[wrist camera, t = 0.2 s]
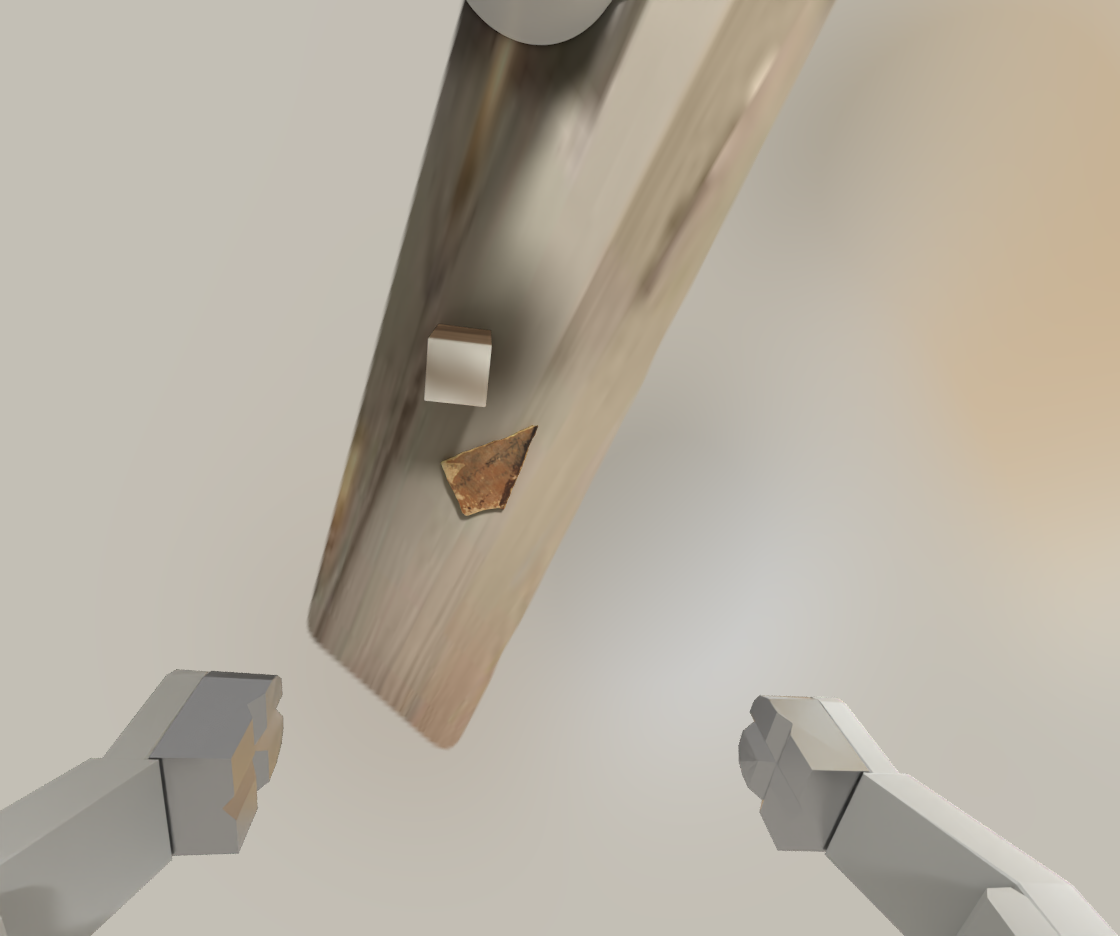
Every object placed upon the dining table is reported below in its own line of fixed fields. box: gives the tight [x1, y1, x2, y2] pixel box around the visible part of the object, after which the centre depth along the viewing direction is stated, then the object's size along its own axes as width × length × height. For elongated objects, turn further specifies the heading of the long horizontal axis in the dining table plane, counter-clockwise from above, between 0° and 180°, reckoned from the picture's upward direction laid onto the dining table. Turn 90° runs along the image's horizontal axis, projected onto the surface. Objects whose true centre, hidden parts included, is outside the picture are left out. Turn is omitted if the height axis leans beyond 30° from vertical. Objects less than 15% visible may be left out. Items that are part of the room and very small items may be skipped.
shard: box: [441, 425, 538, 516], centre depth 59 cm, size 11×8×2 cm
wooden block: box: [424, 324, 492, 407], centre depth 49 cm, size 5×5×10 cm
